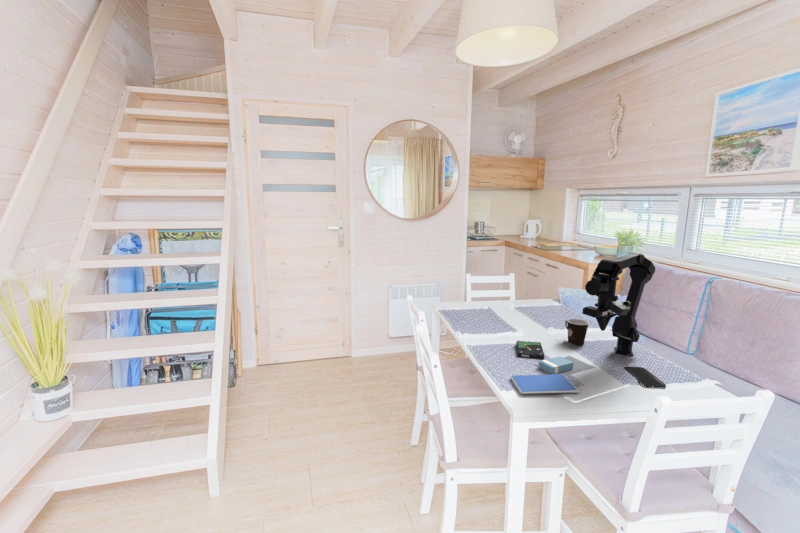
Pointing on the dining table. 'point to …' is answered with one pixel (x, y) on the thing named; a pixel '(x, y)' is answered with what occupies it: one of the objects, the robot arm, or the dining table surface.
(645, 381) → the phone
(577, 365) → the mat
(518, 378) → the tablet computer
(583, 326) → the coffee mug
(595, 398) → the dining table surface
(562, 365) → the box
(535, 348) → the disk drive
